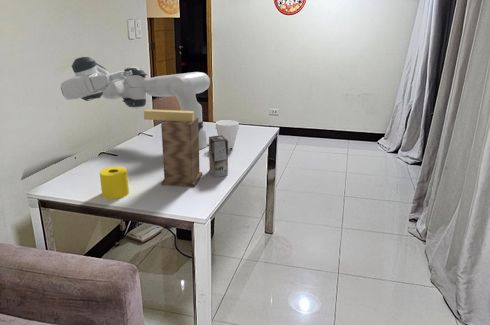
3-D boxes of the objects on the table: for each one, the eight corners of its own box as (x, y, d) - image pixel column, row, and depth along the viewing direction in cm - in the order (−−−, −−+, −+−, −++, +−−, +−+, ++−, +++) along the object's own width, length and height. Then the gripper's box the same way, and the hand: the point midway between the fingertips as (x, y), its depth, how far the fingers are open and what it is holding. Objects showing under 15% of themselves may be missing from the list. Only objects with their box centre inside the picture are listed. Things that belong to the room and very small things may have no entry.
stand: (161, 184, 166) (157, 123, 157) (171, 172, 179) (168, 115, 171) (194, 186, 164) (192, 124, 156) (202, 174, 178) (201, 116, 169)
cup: (239, 144, 222) (240, 120, 217) (237, 151, 210) (237, 125, 206) (217, 143, 223) (217, 119, 218) (213, 150, 211) (213, 125, 207)
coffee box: (228, 175, 177) (228, 140, 172) (214, 177, 175) (214, 141, 170) (222, 168, 185) (222, 135, 180) (208, 170, 183) (208, 136, 178)
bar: (144, 119, 163) (143, 111, 162) (147, 117, 167) (146, 109, 165) (192, 121, 161) (192, 113, 160) (194, 119, 164) (194, 111, 163)
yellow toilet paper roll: (113, 187, 163) (111, 165, 160) (134, 190, 160) (132, 168, 157) (96, 196, 154) (93, 173, 151) (118, 200, 151) (115, 177, 148)
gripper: (110, 86, 179) (138, 78, 176) (88, 93, 160) (120, 84, 157) (105, 72, 177) (133, 63, 175) (82, 77, 158) (114, 68, 155)
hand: (127, 73), depth 166 cm, fingers open, 8 cm apart
